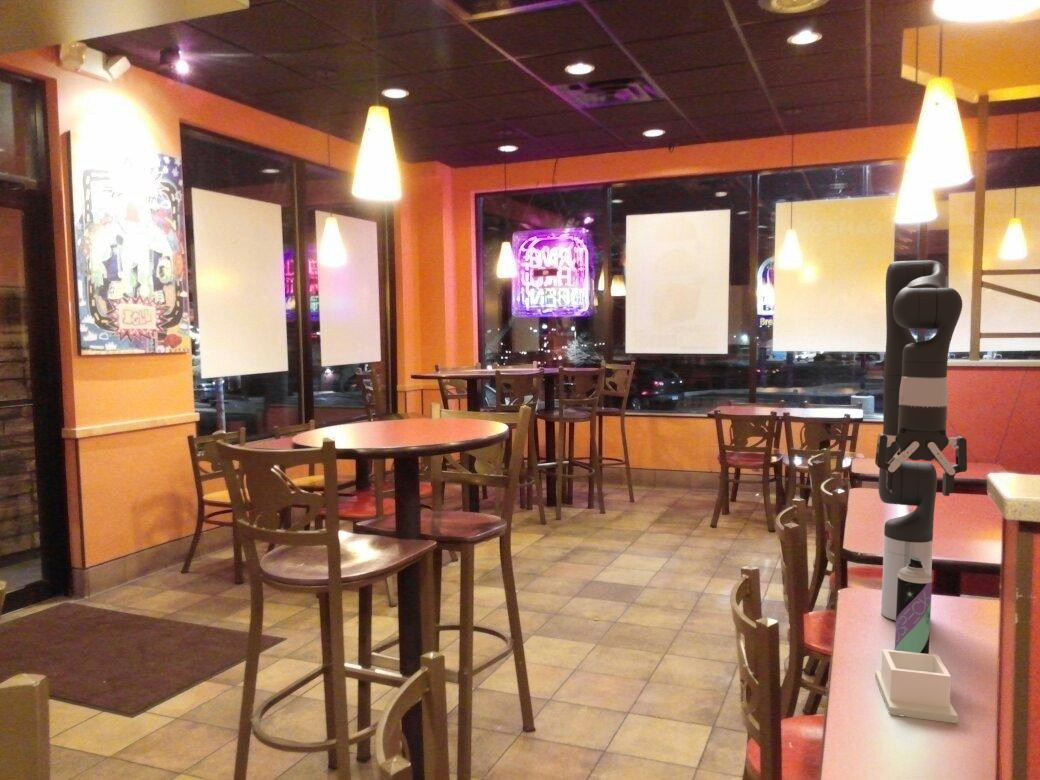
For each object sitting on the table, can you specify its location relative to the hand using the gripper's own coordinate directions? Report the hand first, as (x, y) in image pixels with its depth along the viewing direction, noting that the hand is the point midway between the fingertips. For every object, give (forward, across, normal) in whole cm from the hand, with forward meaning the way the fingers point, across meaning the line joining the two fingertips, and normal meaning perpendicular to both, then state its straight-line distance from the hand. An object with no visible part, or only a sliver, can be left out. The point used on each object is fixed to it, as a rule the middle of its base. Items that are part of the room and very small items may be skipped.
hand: (918, 493), depth 138 cm
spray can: (+32, 0, 0) cm, 32 cm away
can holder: (+32, +2, +13) cm, 34 cm away
